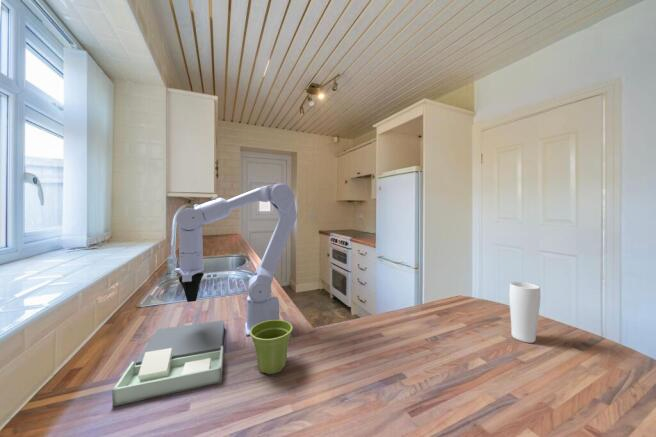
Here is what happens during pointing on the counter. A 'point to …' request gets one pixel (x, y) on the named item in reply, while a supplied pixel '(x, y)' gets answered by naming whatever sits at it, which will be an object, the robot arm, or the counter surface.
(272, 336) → the plant pot
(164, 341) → the board
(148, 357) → the tile
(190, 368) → the tile
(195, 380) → the tray
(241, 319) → the counter surface
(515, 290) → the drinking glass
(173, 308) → the counter surface
